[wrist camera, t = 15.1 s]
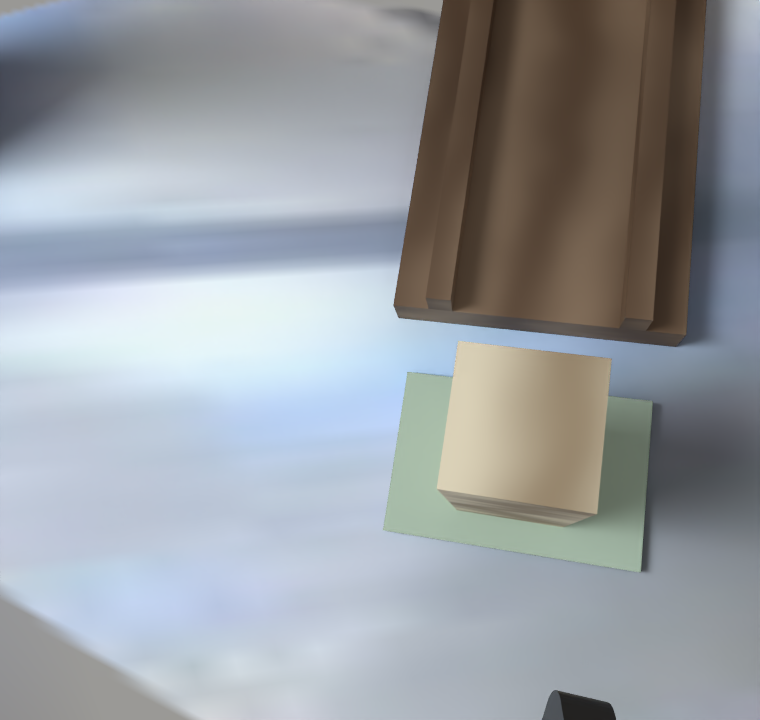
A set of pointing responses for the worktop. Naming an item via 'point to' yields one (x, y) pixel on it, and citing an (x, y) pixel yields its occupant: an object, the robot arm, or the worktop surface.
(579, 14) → the walnut lane
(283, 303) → the worktop surface
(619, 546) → the sage mat
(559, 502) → the birch block
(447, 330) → the worktop surface
